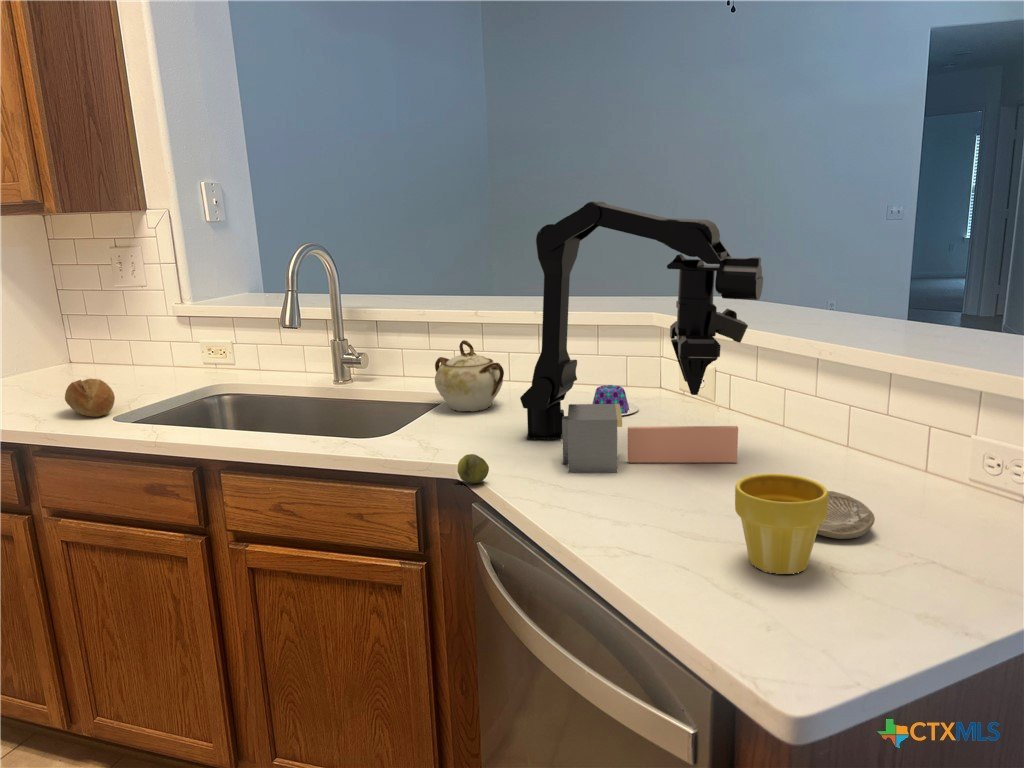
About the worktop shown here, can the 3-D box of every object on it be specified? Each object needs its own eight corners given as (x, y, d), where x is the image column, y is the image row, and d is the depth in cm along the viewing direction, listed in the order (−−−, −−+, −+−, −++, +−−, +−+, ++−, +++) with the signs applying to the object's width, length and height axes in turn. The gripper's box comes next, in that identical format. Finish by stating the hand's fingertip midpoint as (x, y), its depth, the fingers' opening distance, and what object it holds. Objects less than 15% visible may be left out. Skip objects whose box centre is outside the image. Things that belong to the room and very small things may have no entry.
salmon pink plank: (627, 462, 130) (628, 428, 129) (627, 460, 131) (627, 426, 130) (737, 462, 128) (738, 427, 127) (735, 460, 129) (737, 426, 128)
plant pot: (748, 538, 100) (751, 466, 98) (832, 556, 94) (837, 480, 92) (720, 569, 92) (723, 492, 90) (810, 591, 86) (815, 509, 84)
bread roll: (77, 424, 168) (71, 388, 166) (61, 412, 179) (55, 378, 177) (124, 415, 174) (119, 380, 172) (106, 404, 185) (100, 371, 183)
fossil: (823, 556, 97) (823, 536, 96) (768, 518, 107) (768, 500, 106) (892, 537, 99) (893, 517, 98) (832, 502, 110) (832, 484, 109)
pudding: (618, 422, 156) (618, 397, 155) (570, 413, 163) (570, 389, 162) (649, 409, 165) (649, 385, 163) (602, 401, 172) (602, 378, 171)
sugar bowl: (414, 408, 171) (410, 342, 167) (459, 394, 182) (456, 332, 179) (481, 421, 159) (478, 350, 155) (526, 405, 170) (524, 338, 166)
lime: (455, 481, 125) (453, 452, 123) (483, 476, 126) (481, 447, 125) (463, 490, 121) (462, 460, 119) (492, 485, 122) (491, 455, 121)
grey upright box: (562, 472, 127) (561, 420, 125) (564, 453, 137) (563, 404, 135) (622, 472, 126) (622, 419, 124) (619, 453, 136) (619, 403, 134)
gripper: (756, 305, 118) (749, 403, 122) (735, 290, 136) (730, 376, 140) (682, 304, 119) (678, 401, 123) (671, 290, 137) (667, 375, 141)
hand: (691, 387), depth 132 cm, fingers open, 9 cm apart
